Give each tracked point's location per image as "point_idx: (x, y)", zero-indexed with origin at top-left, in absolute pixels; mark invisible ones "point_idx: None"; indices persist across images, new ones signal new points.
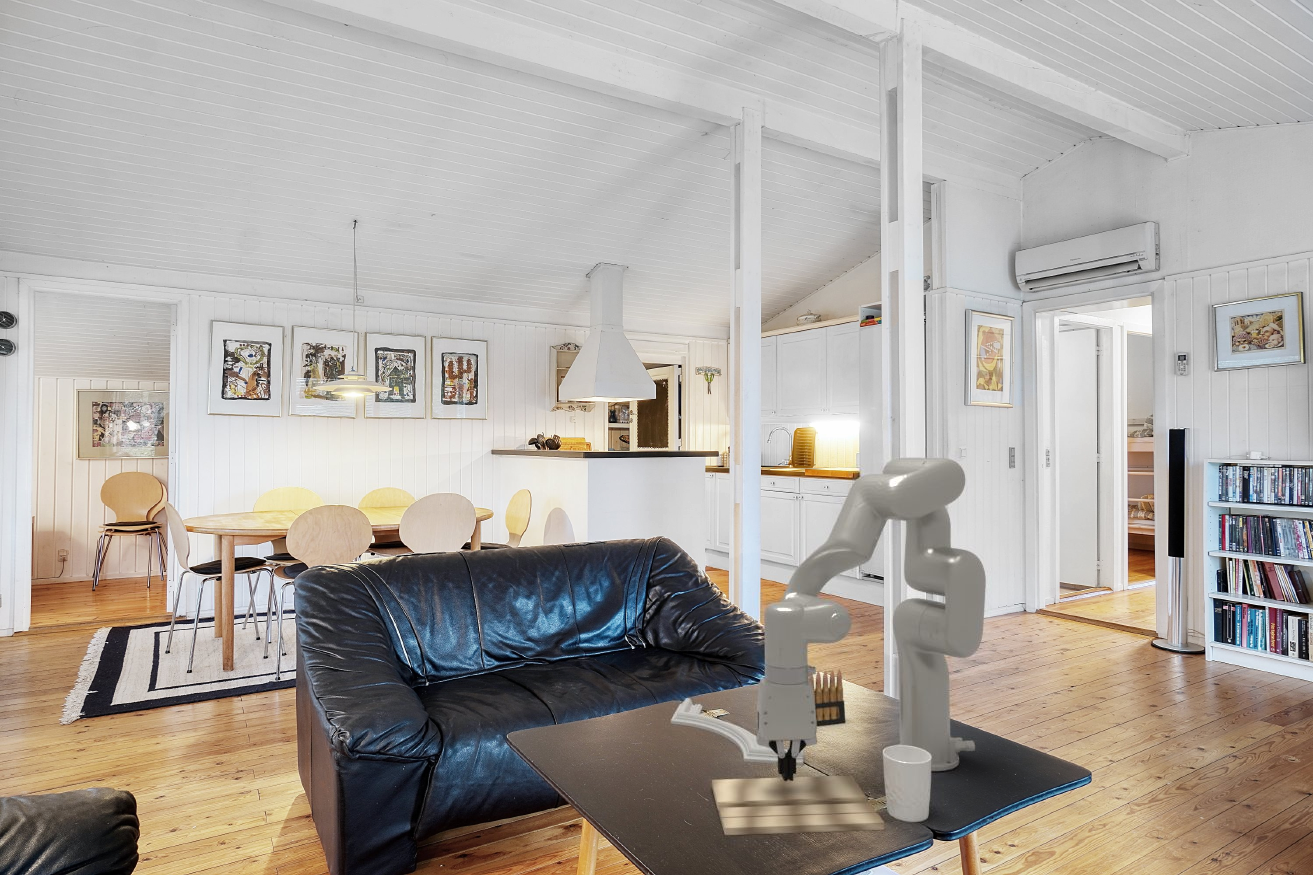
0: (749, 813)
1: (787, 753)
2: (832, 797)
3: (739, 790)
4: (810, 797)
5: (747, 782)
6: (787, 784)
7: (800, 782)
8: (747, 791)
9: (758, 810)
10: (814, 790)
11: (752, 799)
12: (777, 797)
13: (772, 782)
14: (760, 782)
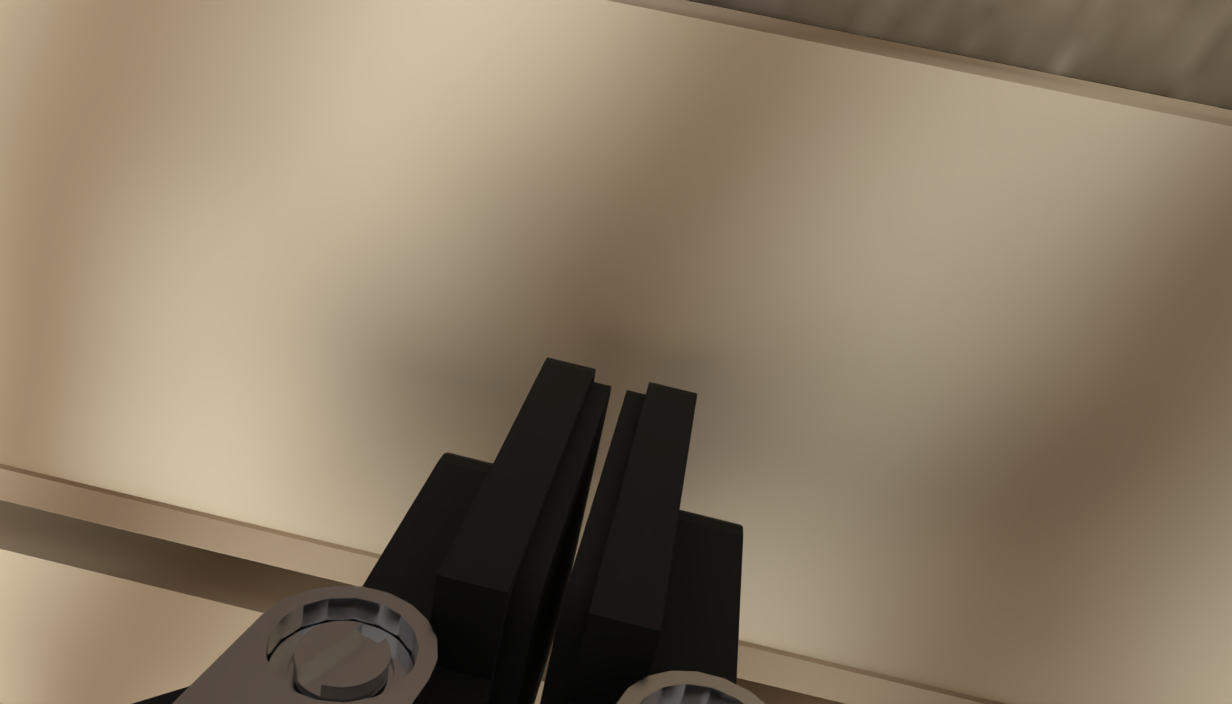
0: (82, 678)
1: (573, 684)
2: (1095, 696)
3: (14, 224)
4: (830, 622)
5: (141, 31)
6: (699, 256)
7: (921, 257)
8: (112, 279)
9: (178, 655)
10: (982, 505)
11: (146, 464)
12: None
13: (505, 137)
14: (328, 90)
